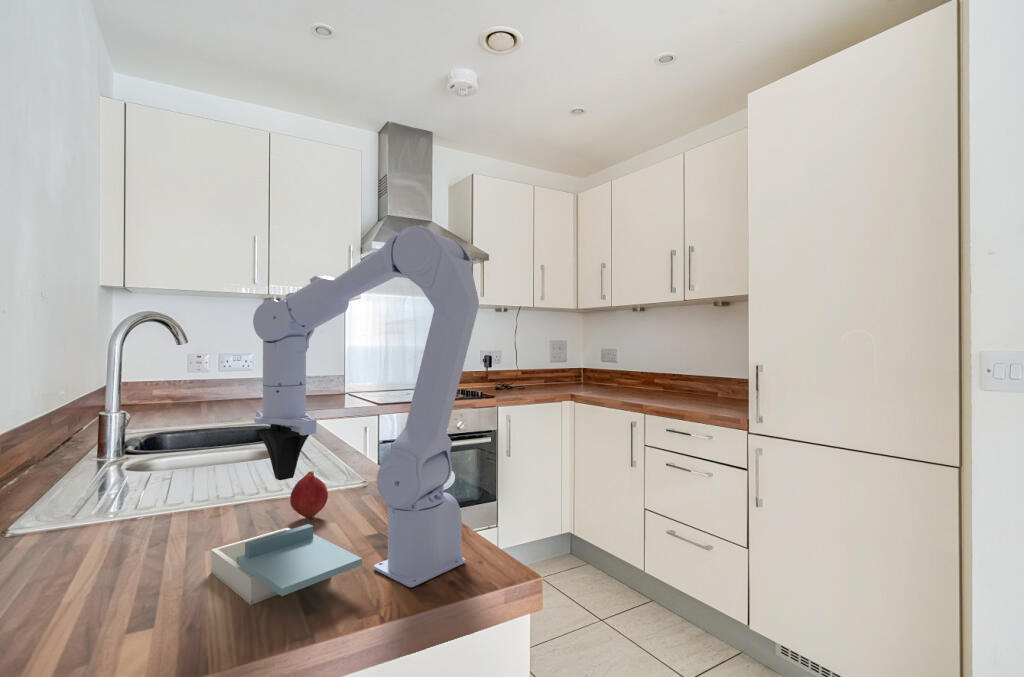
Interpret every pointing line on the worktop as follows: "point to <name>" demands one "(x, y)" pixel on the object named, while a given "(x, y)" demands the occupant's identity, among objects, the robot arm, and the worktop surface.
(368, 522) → the worktop surface
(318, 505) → the onion
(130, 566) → the worktop surface
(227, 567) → the box
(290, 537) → the lid
